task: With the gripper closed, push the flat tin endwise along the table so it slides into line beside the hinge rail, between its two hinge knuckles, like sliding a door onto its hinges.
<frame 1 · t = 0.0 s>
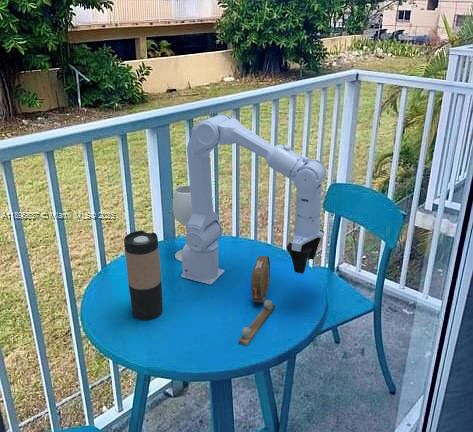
hand: (304, 265, 115), 10 cm above the table, tool pointing down, fingers open, 7 cm apart
wineglass: (189, 256, 142), on the table
hinge rail: (257, 324, 110), on the table
travel mug: (147, 312, 115), on the table
tin: (260, 292, 123), on the table
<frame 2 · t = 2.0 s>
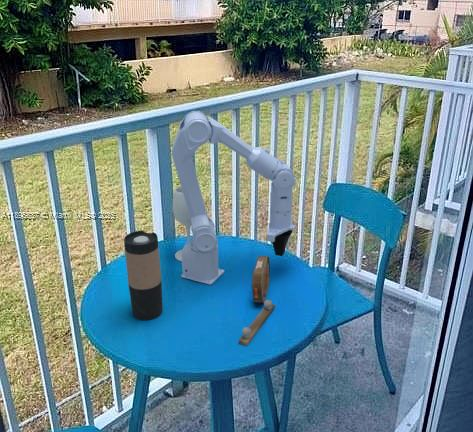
hand: (279, 254, 131), 5 cm above the table, tool pointing down, fingers closed
nothing on the table moved.
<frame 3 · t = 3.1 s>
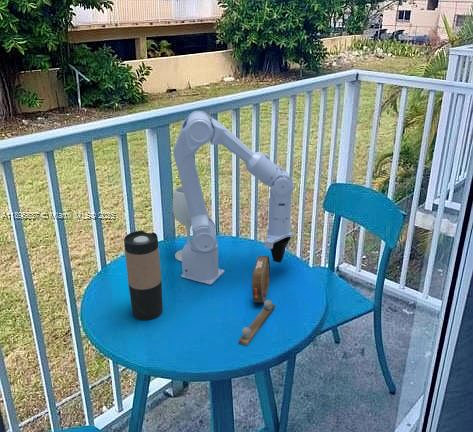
hand: (277, 261, 131), 3 cm above the table, tool pointing down, fingers closed
nothing on the table moved.
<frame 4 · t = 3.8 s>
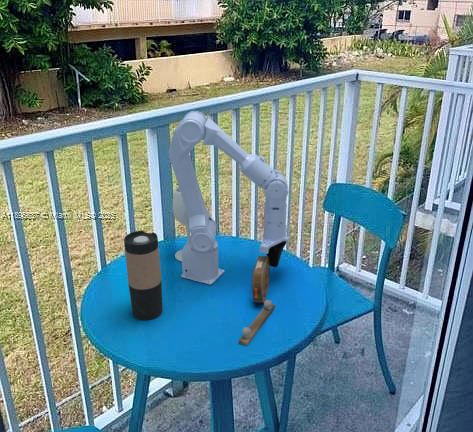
hand: (273, 265, 129), 3 cm above the table, tool pointing down, fingers closed
tin: (260, 293, 123), on the table, touching gripper
everything else where it was.
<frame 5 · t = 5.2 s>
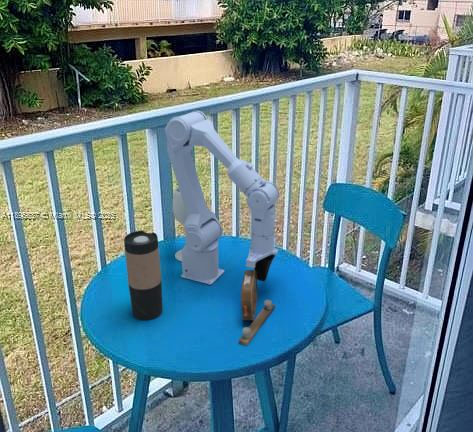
hand: (261, 279, 122), 3 cm above the table, tool pointing down, fingers closed
tin: (249, 309, 116), on the table, touching gripper
everything else where it was.
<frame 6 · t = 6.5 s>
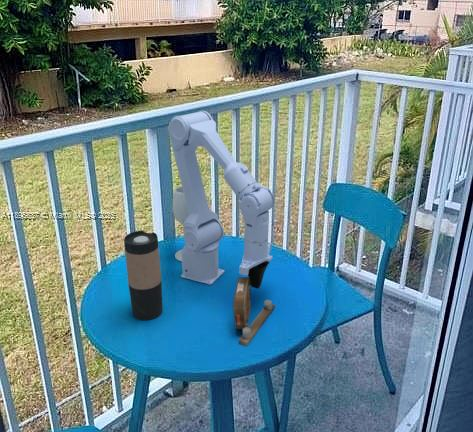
hand: (255, 286, 119), 3 cm above the table, tool pointing down, fingers closed
tin: (242, 317, 113), on the table, touching gripper
everything else where it was.
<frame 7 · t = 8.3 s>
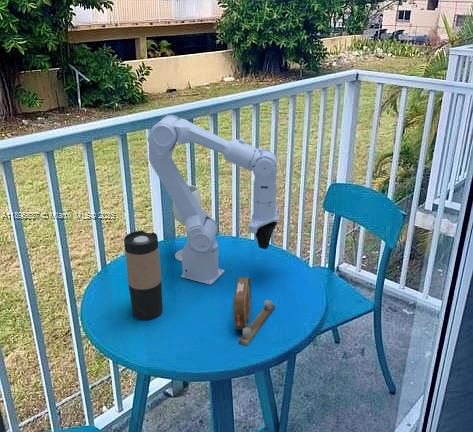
hand: (263, 247, 125), 9 cm above the table, tool pointing down, fingers closed
tin: (242, 317, 113), on the table
everything else where it was.
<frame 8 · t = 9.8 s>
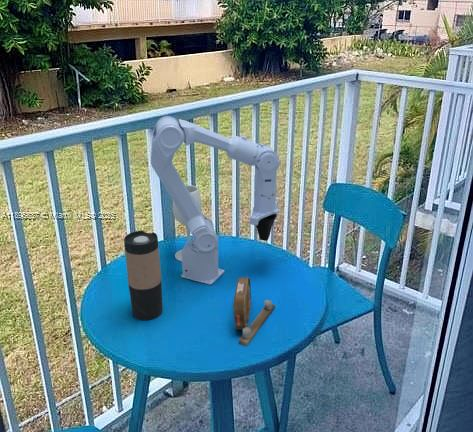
hand: (264, 239, 130), 9 cm above the table, tool pointing down, fingers closed
nothing on the table moved.
at the end: tin 1.2 cm from the target spot, on the table; tin tilted 0°; tin touching table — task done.
